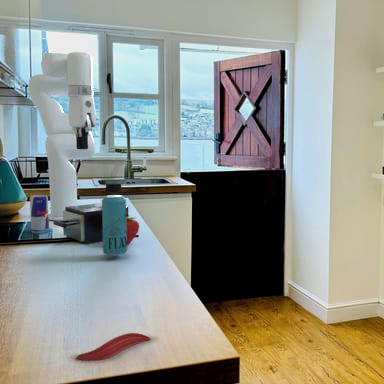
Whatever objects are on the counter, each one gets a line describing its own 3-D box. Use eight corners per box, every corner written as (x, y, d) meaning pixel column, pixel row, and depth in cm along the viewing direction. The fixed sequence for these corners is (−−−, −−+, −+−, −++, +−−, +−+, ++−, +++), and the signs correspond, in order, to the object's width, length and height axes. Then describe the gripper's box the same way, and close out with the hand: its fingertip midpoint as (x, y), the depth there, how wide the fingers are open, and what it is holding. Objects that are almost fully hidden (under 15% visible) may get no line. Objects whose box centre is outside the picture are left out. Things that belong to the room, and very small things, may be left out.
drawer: (67, 243, 138) (66, 217, 137) (49, 237, 146) (48, 212, 145) (121, 234, 151) (120, 210, 150) (102, 229, 159) (102, 205, 157)
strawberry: (111, 244, 142) (110, 210, 141) (136, 241, 146) (135, 209, 145) (117, 248, 137) (116, 214, 136) (142, 245, 141) (142, 212, 140)
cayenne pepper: (78, 364, 70) (78, 352, 70) (72, 351, 74) (72, 339, 74) (157, 347, 76) (157, 335, 76) (147, 336, 80) (147, 325, 80)
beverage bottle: (105, 262, 123) (103, 184, 120) (100, 256, 129) (98, 182, 126) (130, 259, 126) (129, 183, 123) (124, 253, 132) (122, 181, 129)
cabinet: (86, 244, 142) (85, 212, 140) (66, 237, 150) (65, 206, 149) (128, 236, 152) (128, 206, 151) (107, 230, 161) (107, 202, 159)
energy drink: (42, 234, 154) (41, 197, 152) (27, 233, 155) (26, 196, 153) (52, 230, 159) (51, 194, 158) (38, 229, 160) (36, 194, 159)
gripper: (103, 92, 152) (104, 149, 155) (80, 93, 163) (81, 148, 165) (81, 90, 147) (82, 150, 149) (58, 92, 157) (60, 148, 160)
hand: (82, 149), depth 157 cm, fingers closed
